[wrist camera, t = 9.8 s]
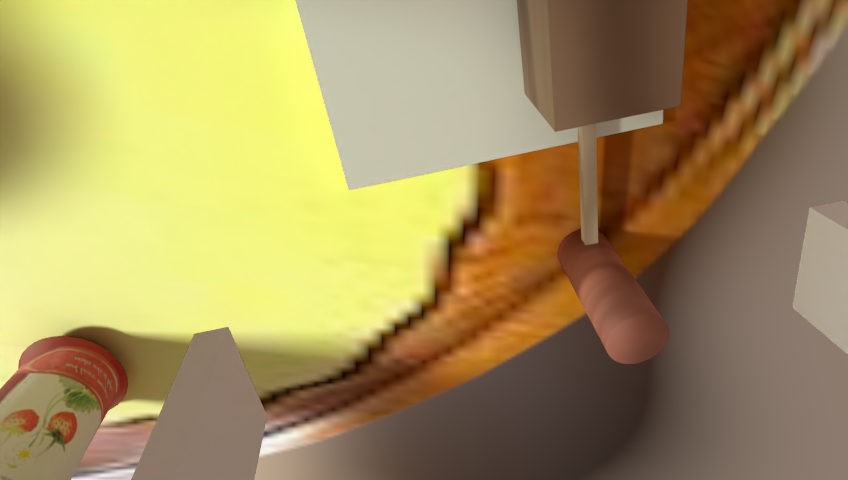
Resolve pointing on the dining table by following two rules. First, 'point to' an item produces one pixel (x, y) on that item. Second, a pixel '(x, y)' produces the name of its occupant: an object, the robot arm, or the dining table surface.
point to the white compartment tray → (428, 86)
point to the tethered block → (584, 107)
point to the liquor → (56, 407)
